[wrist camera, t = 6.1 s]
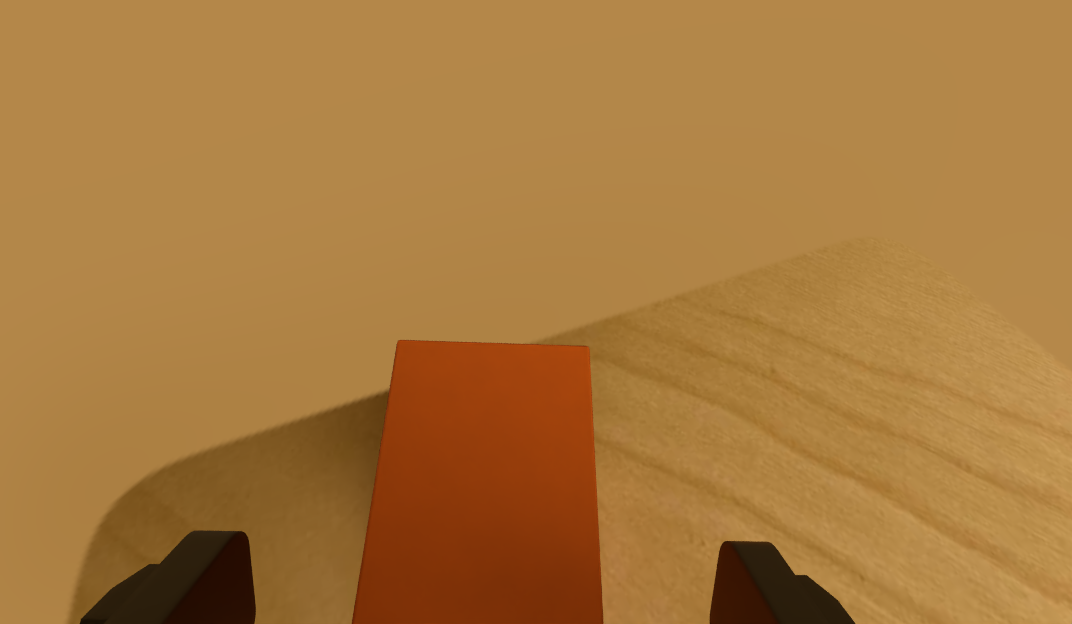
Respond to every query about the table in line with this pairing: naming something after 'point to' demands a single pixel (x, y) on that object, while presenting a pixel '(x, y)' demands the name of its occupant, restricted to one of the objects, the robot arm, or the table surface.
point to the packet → (484, 489)
